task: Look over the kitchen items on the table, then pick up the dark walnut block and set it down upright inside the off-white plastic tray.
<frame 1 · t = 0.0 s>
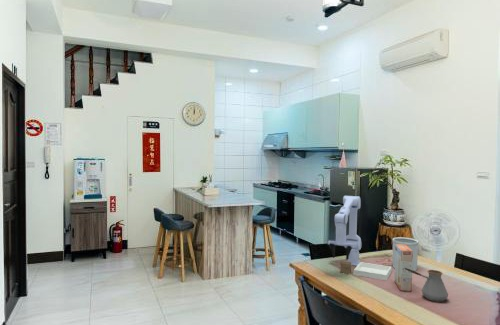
hand: (340, 258, 201), 10 cm above the table, tool pointing down, fingers open, 7 cm apart
tray: (372, 273, 206), on the table
utensil holder: (404, 268, 217), on the table
cracker box: (403, 286, 185), on the table
coffee pot: (424, 299, 169), on the table
walnut block: (345, 272, 207), on the table
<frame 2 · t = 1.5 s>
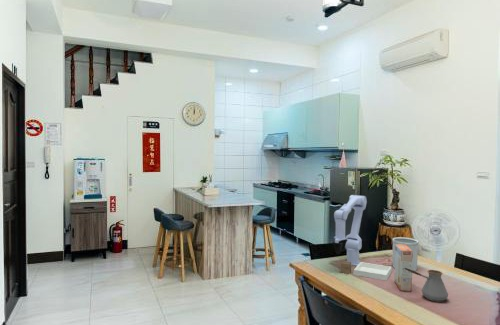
hand: (340, 252, 212), 10 cm above the table, tool pointing down, fingers open, 7 cm apart
nothing on the table moved.
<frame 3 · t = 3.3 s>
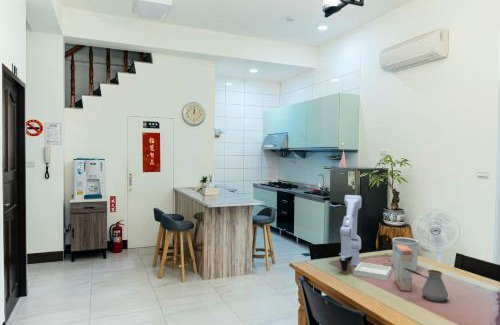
hand: (345, 269, 207), 2 cm above the table, tool pointing down, fingers closed on walnut block, 5 cm apart
walnut block: (345, 272, 207), on the table, touching gripper
everything else where it was.
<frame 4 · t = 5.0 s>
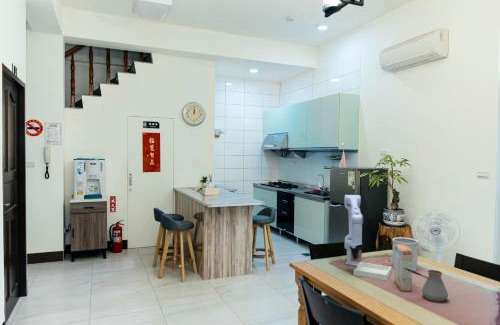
hand: (356, 257, 207), 9 cm above the table, tool pointing down, fingers closed on walnut block, 5 cm apart
walnut block: (356, 260, 207), point 7 cm above the table, touching gripper
everything else where it was.
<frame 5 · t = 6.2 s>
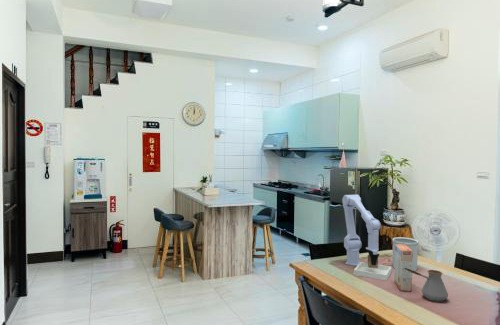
hand: (372, 263, 206), 6 cm above the table, tool pointing down, fingers closed on walnut block, 5 cm apart
walnut block: (372, 266, 206), point 4 cm above the table, touching gripper
everything else where it was.
when the fingers open (4 cm above the table, at t = 7.0 s): walnut block drops 2 cm, resting on tray.
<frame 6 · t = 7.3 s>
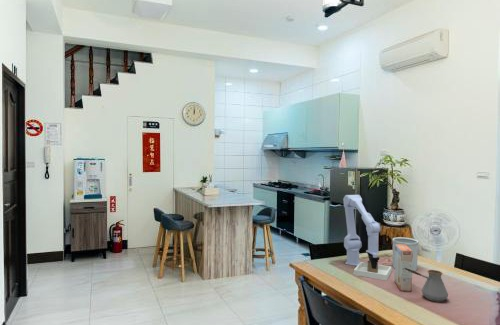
hand: (372, 266, 206), 4 cm above the table, tool pointing down, fingers open, 7 cm apart
walnut block: (372, 272, 206), resting on tray
everything else where it was.
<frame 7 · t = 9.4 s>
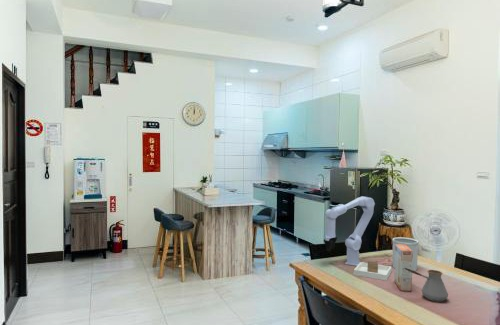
hand: (330, 249, 222), 9 cm above the table, tool pointing down, fingers open, 7 cm apart
nothing on the table moved.
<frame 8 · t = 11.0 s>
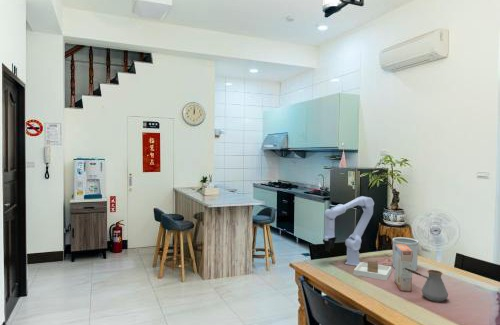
hand: (329, 249, 222), 9 cm above the table, tool pointing down, fingers open, 7 cm apart
nothing on the table moved.
at the end: walnut block inside the target area on the tray (0.1 cm from its centre), point 0.5 cm above the tray's base; walnut block tilted 0°; the gripper is holding nothing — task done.
